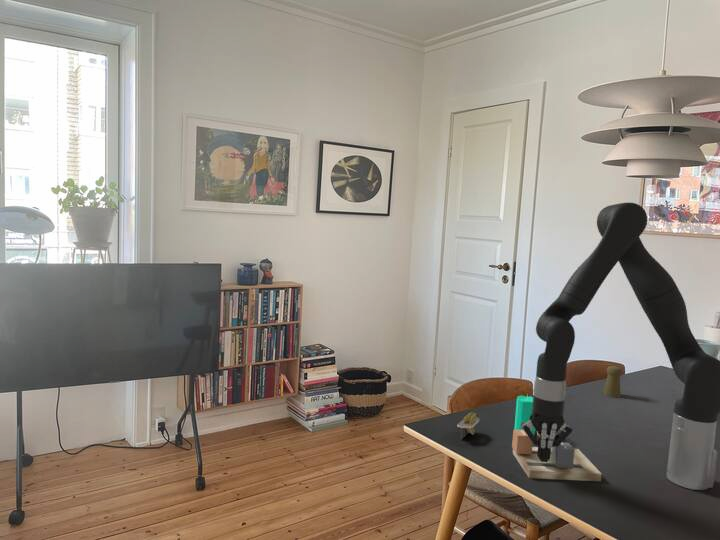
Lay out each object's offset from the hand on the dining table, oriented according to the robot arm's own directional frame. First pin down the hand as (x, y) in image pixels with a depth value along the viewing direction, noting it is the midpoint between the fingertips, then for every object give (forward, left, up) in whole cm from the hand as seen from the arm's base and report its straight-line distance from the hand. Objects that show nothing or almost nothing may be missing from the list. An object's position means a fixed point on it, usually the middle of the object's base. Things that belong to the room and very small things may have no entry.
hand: (543, 460), depth 135 cm
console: (-4, -4, -3) cm, 6 cm away
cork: (-49, -66, -3) cm, 82 cm away
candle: (-3, -26, -3) cm, 26 cm away
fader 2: (-5, 0, -1) cm, 5 cm away
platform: (+15, -21, -4) cm, 26 cm away
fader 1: (+3, -7, -1) cm, 8 cm away
